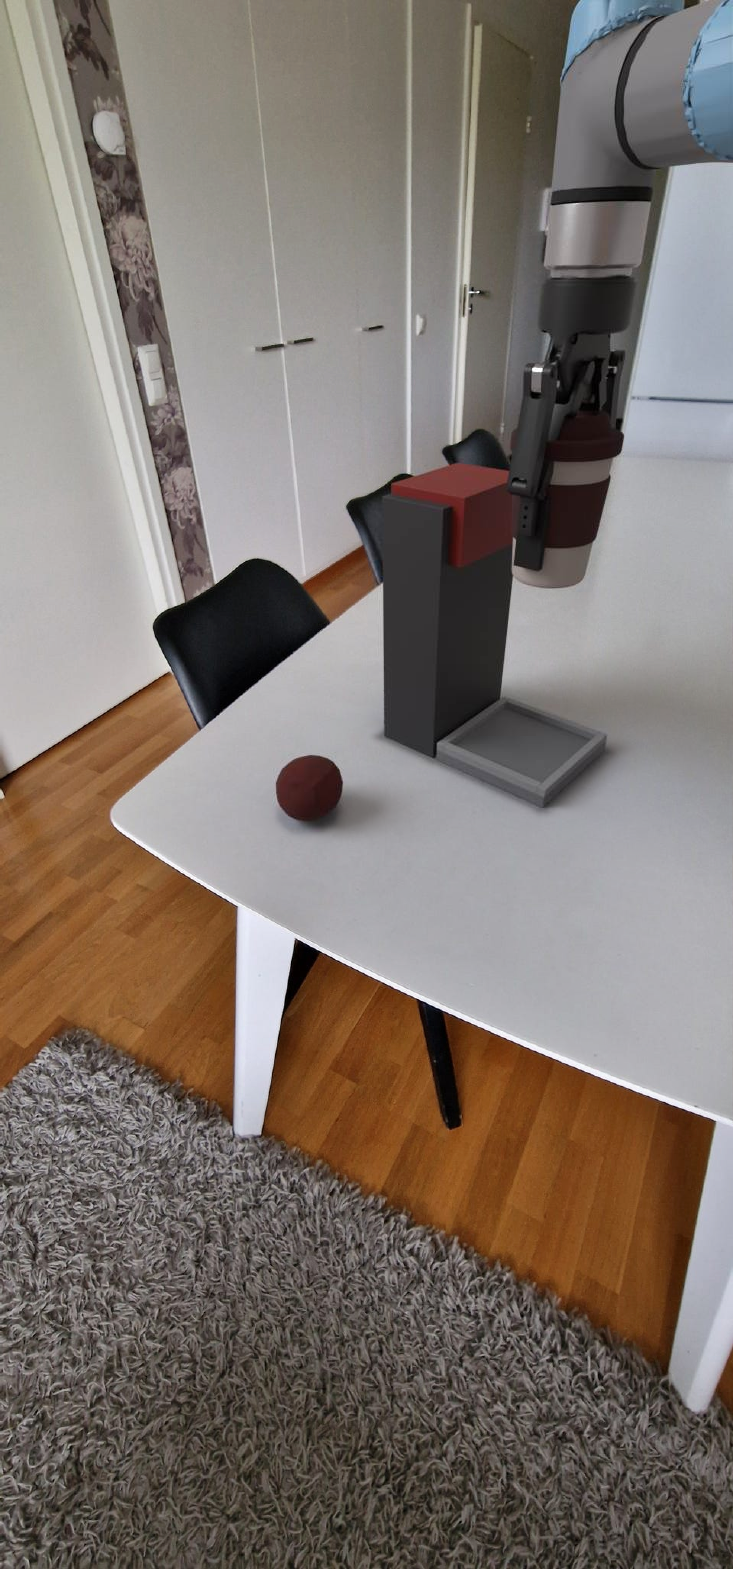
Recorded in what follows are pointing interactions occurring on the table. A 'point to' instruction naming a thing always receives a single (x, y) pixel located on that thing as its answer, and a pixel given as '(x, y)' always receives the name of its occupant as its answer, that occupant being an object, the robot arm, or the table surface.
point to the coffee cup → (572, 498)
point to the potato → (309, 787)
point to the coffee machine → (464, 638)
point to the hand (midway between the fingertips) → (551, 554)
